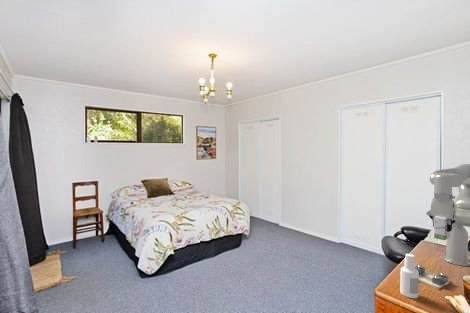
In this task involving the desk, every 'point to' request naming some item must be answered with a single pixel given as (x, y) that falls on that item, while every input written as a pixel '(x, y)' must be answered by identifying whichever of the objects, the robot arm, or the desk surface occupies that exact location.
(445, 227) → the ink box
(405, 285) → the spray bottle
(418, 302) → the desk surface
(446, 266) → the desk surface
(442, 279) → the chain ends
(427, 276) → the jig board
